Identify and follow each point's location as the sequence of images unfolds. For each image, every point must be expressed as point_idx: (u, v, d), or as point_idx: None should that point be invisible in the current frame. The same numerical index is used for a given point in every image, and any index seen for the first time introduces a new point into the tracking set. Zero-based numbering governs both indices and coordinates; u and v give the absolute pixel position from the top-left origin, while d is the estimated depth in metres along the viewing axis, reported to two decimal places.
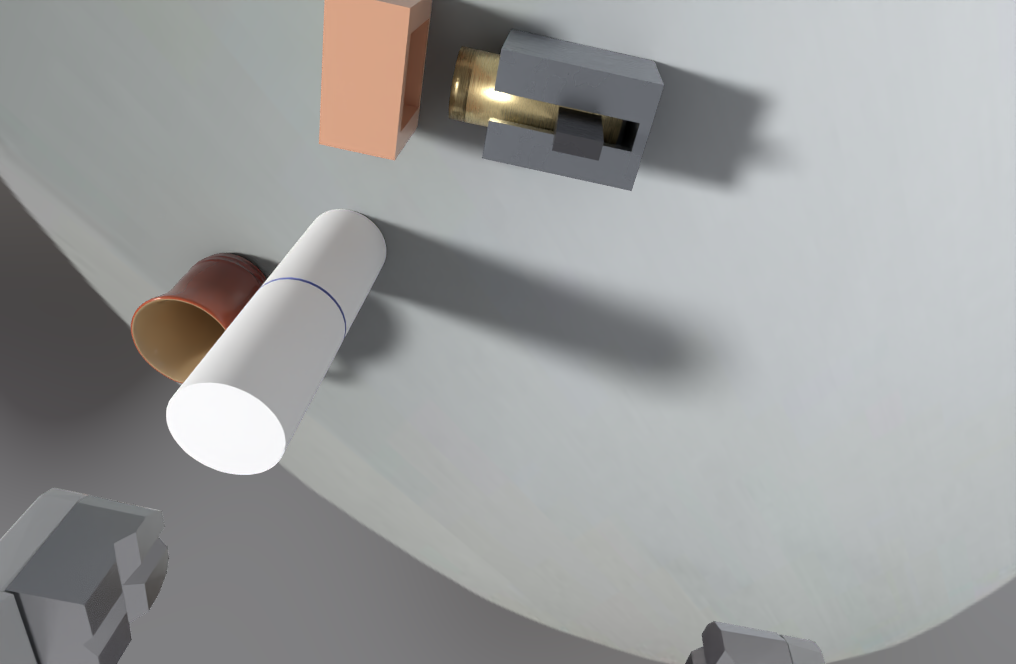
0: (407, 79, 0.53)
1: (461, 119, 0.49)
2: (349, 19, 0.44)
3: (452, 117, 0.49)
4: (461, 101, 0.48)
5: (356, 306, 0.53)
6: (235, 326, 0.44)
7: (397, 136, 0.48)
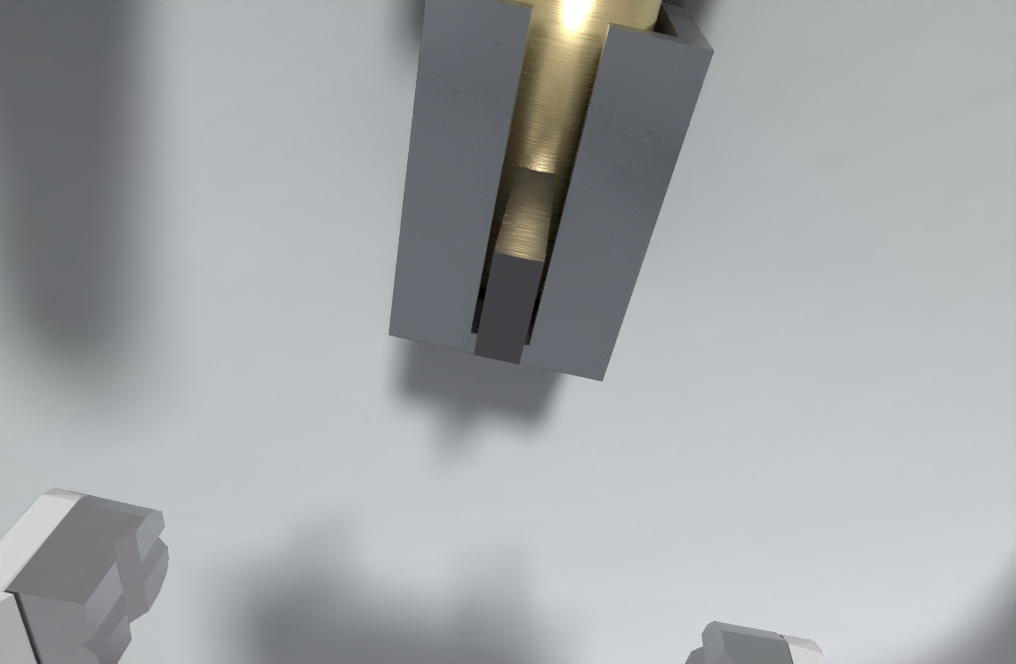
0: None
1: None
2: None
3: None
4: None
5: None
6: None
7: None
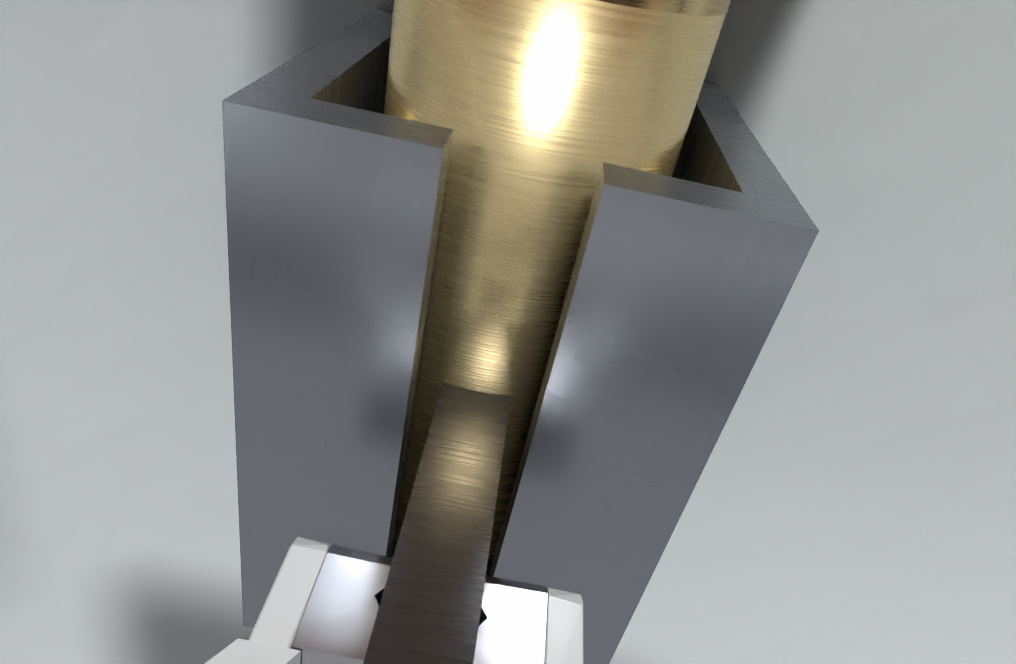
0: None
1: None
2: None
3: None
4: None
5: None
6: None
7: None
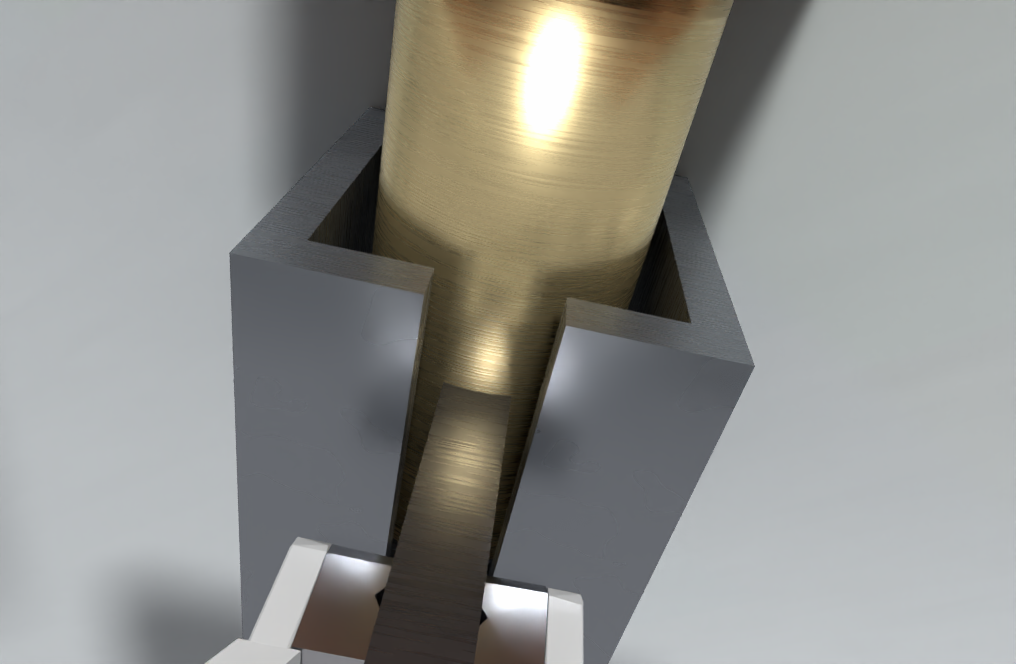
0: None
1: None
2: None
3: None
4: None
5: None
6: None
7: None
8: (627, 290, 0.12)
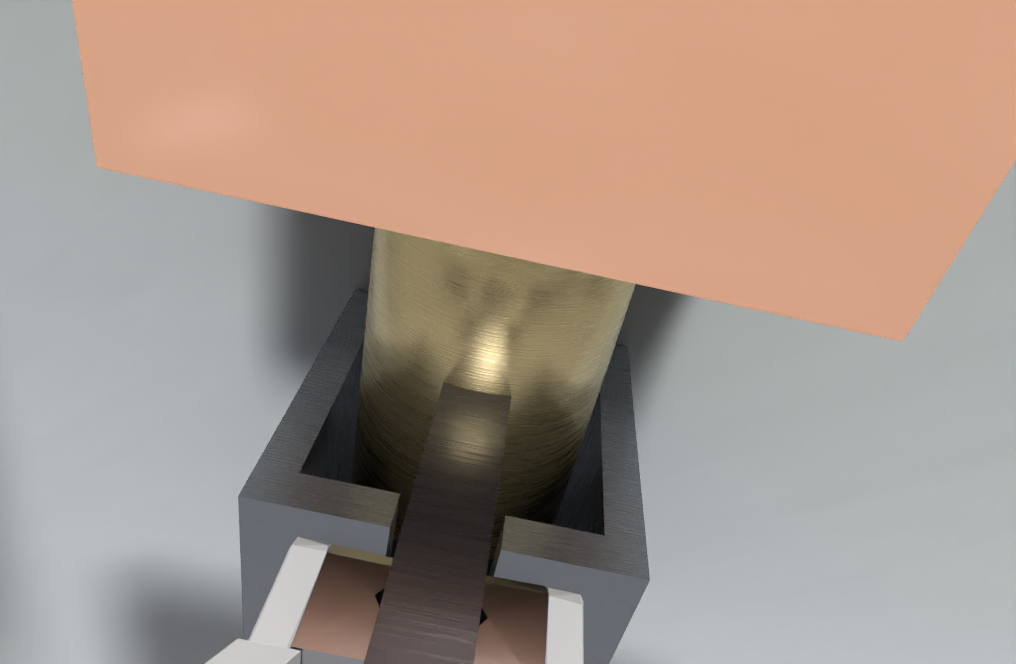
0: None
1: None
2: None
3: None
4: None
5: None
6: None
7: None
8: (627, 289, 0.12)
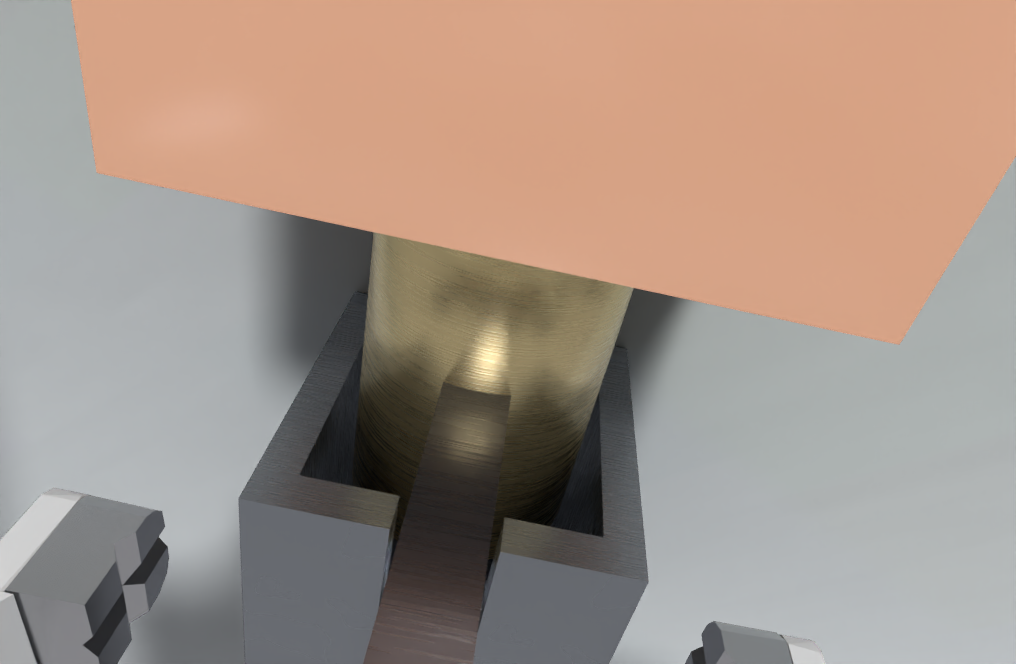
0: None
1: None
2: None
3: None
4: None
5: None
6: None
7: None
8: (626, 289, 0.12)
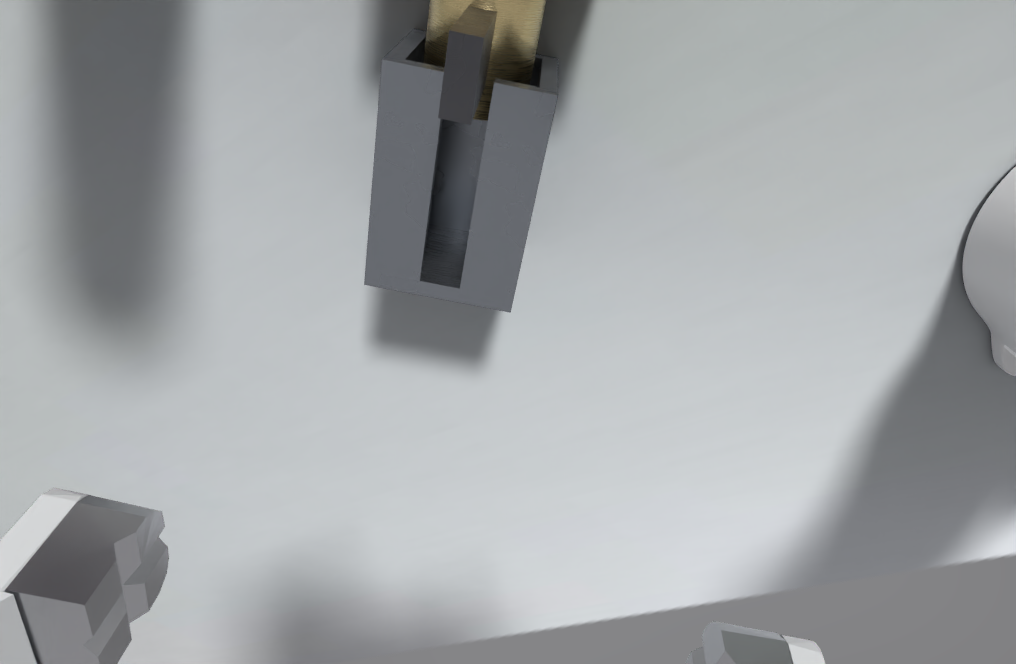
0: None
1: None
2: None
3: None
4: None
5: None
6: None
7: None
8: None
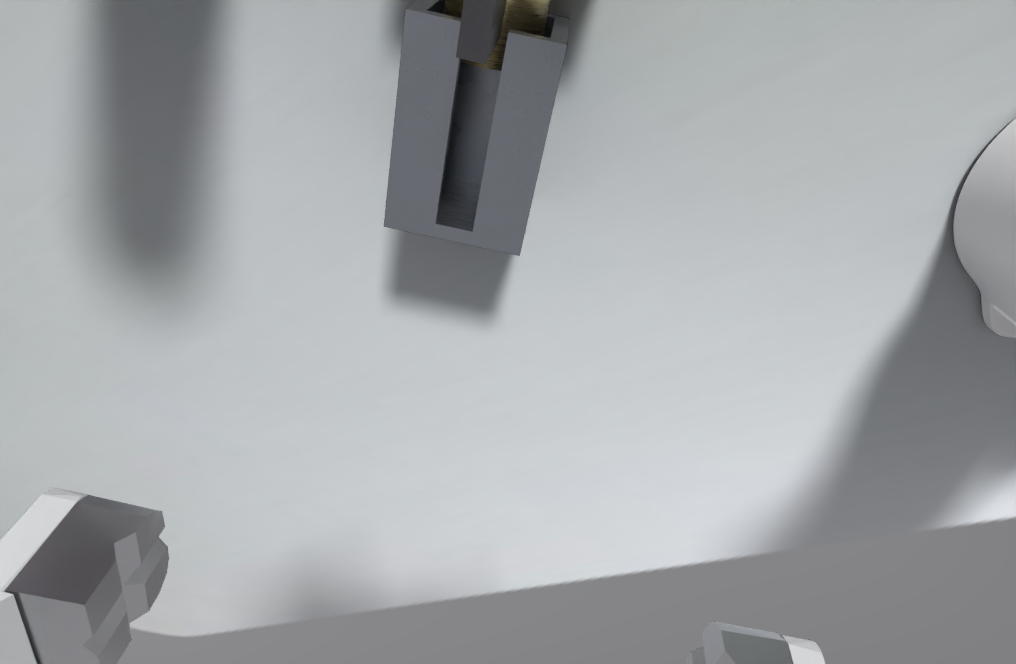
0: None
1: None
2: None
3: None
4: None
5: None
6: None
7: None
8: None
